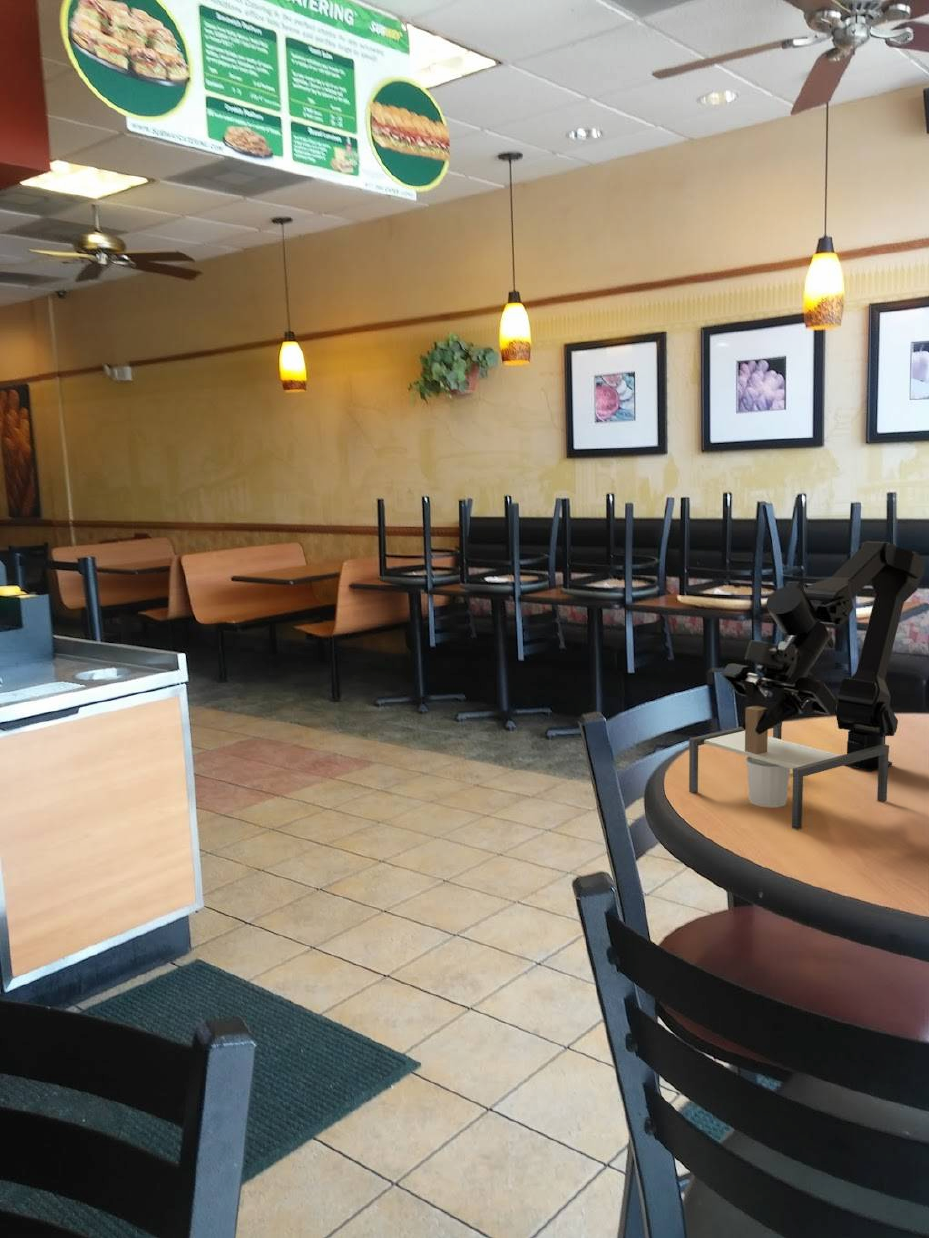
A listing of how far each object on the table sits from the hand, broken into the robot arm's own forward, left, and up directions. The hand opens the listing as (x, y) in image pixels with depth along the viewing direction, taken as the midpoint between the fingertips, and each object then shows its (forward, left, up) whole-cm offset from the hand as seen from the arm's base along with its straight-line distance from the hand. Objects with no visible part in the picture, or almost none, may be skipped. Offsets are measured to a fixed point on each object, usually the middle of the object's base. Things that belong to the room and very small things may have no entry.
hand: (750, 730), depth 157 cm
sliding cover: (-5, 0, -4) cm, 6 cm away
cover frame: (-9, 0, -12) cm, 15 cm away
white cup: (-4, 0, -13) cm, 13 cm away
